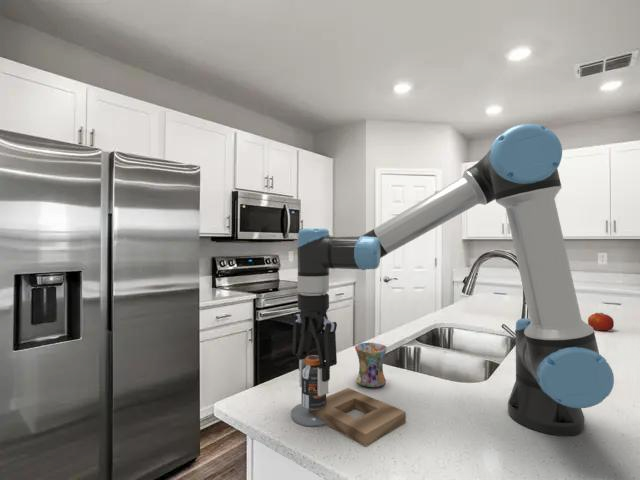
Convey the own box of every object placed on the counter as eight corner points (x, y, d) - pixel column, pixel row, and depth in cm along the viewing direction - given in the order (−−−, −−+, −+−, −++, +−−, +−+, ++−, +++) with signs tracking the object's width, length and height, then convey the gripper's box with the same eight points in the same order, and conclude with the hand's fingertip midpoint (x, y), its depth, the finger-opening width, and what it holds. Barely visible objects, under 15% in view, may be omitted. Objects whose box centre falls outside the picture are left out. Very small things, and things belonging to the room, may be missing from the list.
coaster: (346, 415, 86) (346, 412, 86) (311, 432, 78) (311, 429, 78) (315, 400, 94) (315, 397, 94) (281, 414, 86) (281, 411, 86)
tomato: (582, 328, 167) (582, 310, 167) (600, 327, 168) (600, 310, 168) (600, 333, 158) (600, 315, 158) (619, 332, 159) (619, 314, 159)
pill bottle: (308, 412, 82) (307, 363, 82) (297, 402, 87) (297, 355, 87) (330, 406, 85) (330, 358, 85) (319, 397, 90) (318, 351, 90)
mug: (393, 386, 102) (393, 349, 102) (365, 392, 98) (365, 353, 98) (371, 372, 113) (371, 338, 113) (345, 377, 110) (345, 342, 109)
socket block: (405, 422, 82) (405, 411, 82) (365, 446, 73) (365, 434, 73) (348, 397, 95) (348, 387, 95) (308, 414, 86) (308, 404, 86)
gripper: (353, 295, 81) (353, 397, 81) (300, 287, 95) (300, 374, 95) (329, 299, 76) (329, 408, 76) (277, 290, 90) (277, 382, 90)
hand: (313, 389), depth 86 cm, fingers closed on pill bottle, 6 cm apart
